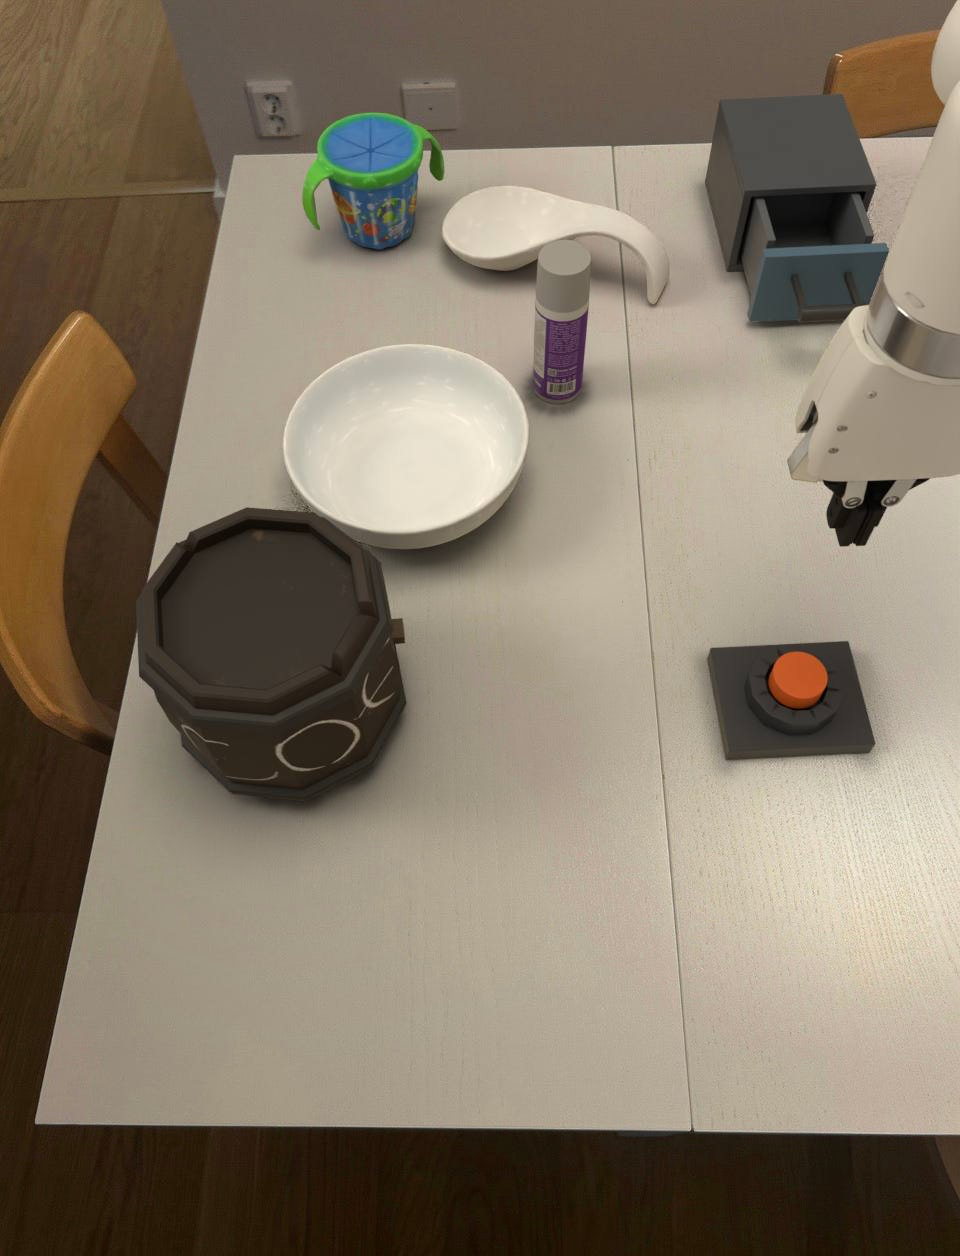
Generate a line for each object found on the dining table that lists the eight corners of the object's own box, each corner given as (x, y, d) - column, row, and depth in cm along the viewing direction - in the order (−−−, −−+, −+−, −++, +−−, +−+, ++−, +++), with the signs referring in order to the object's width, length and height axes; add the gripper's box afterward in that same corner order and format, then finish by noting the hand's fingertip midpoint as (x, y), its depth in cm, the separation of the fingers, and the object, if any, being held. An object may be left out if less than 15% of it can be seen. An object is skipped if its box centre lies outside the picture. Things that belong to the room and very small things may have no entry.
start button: (815, 661, 82) (821, 649, 80) (827, 707, 79) (833, 696, 78) (763, 663, 81) (768, 652, 80) (773, 710, 79) (778, 699, 78)
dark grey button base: (843, 651, 85) (855, 628, 82) (869, 753, 81) (883, 733, 78) (706, 658, 85) (714, 635, 82) (725, 760, 81) (733, 741, 78)
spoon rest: (426, 273, 110) (421, 214, 104) (469, 204, 115) (467, 144, 109) (646, 330, 105) (655, 271, 99) (679, 255, 110) (690, 195, 104)
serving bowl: (261, 447, 98) (245, 394, 92) (463, 368, 103) (460, 313, 97) (352, 616, 88) (341, 569, 82) (570, 520, 93) (575, 469, 87)
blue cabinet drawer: (879, 358, 101) (905, 293, 94) (759, 364, 101) (777, 300, 94) (834, 226, 111) (855, 159, 104) (726, 231, 111) (740, 164, 104)
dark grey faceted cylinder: (433, 787, 80) (419, 689, 67) (195, 835, 79) (130, 744, 65) (395, 592, 89) (375, 472, 76) (181, 631, 88) (122, 515, 74)
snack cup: (425, 179, 118) (419, 92, 109) (466, 235, 113) (463, 148, 104) (294, 222, 114) (276, 136, 106) (330, 281, 109) (315, 196, 101)
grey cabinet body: (849, 265, 109) (877, 184, 101) (727, 271, 109) (744, 190, 101) (819, 176, 117) (842, 93, 108) (704, 181, 117) (719, 99, 108)
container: (590, 379, 102) (602, 249, 89) (567, 410, 100) (576, 283, 87) (547, 361, 103) (553, 231, 90) (523, 392, 101) (526, 264, 88)
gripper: (1067, 259, 57) (944, 480, 72) (787, 269, 57) (725, 489, 72) (1116, 360, 53) (975, 571, 68) (815, 371, 53) (743, 580, 68)
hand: (847, 528), depth 70 cm, fingers closed
